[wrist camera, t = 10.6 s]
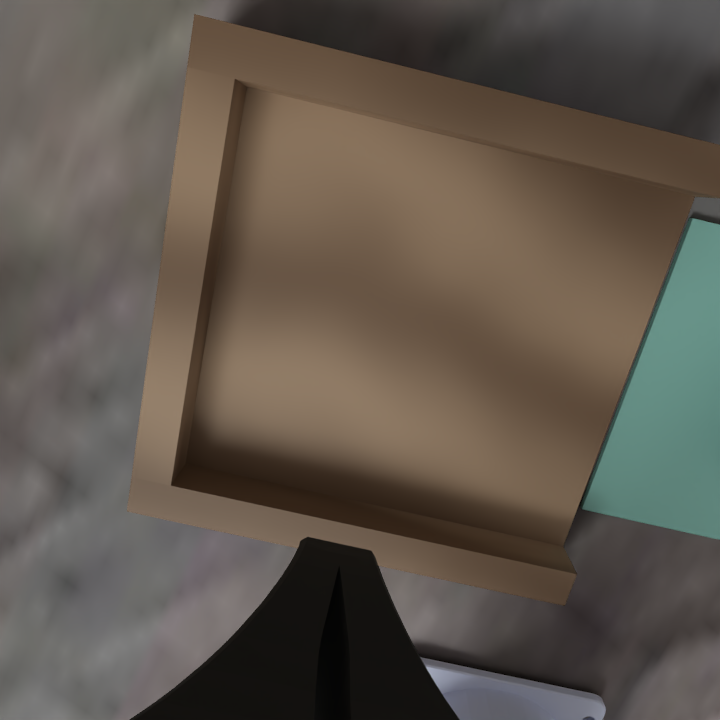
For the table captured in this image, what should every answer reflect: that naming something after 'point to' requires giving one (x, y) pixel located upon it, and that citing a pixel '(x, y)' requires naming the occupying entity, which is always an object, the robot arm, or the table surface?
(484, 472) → the wooden tray
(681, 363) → the cover plate
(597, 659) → the table surface
